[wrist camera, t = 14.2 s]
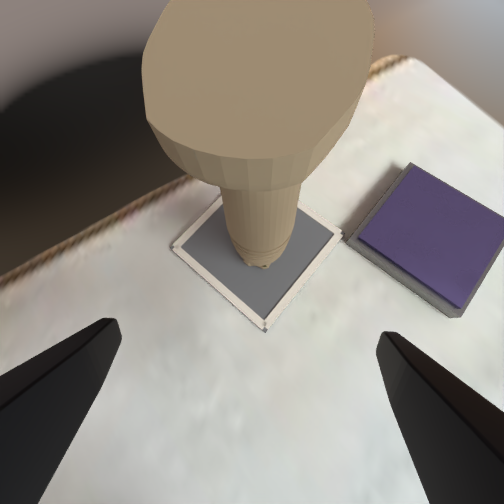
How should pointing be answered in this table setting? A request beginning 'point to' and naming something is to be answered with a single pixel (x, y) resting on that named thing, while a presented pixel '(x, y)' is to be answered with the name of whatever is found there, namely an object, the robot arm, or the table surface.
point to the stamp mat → (252, 277)
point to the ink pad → (431, 239)
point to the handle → (256, 101)
